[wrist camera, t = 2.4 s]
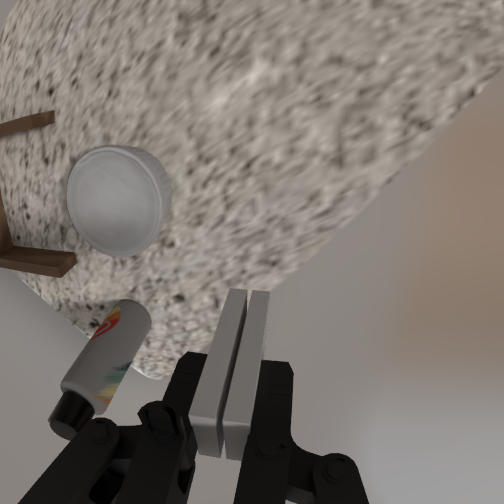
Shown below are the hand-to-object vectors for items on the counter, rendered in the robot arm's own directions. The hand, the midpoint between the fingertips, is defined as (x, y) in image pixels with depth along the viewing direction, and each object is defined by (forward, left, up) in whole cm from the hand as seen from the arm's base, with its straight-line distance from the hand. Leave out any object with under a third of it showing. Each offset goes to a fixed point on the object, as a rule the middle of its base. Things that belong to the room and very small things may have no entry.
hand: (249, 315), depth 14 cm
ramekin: (0, -15, -19) cm, 24 cm away
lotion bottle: (+17, -18, -19) cm, 31 cm away
